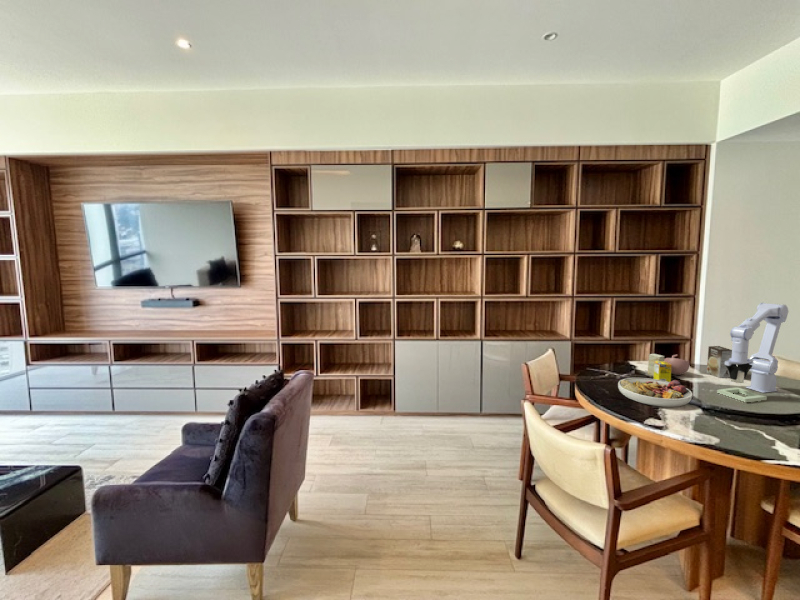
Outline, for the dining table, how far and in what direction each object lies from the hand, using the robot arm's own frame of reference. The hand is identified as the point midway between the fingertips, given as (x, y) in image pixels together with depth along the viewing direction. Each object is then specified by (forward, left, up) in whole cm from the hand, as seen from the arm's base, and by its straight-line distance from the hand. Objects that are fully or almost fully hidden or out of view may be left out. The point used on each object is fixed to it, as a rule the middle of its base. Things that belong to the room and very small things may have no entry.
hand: (737, 378), depth 179 cm
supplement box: (+17, -25, -9) cm, 31 cm away
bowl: (+39, -9, -9) cm, 41 cm away
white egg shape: (0, 0, -2) cm, 2 cm away
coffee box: (-22, -26, -9) cm, 35 cm away
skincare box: (+11, -35, -9) cm, 38 cm away
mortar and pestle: (-2, -34, -9) cm, 35 cm away
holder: (0, +2, -8) cm, 9 cm away
